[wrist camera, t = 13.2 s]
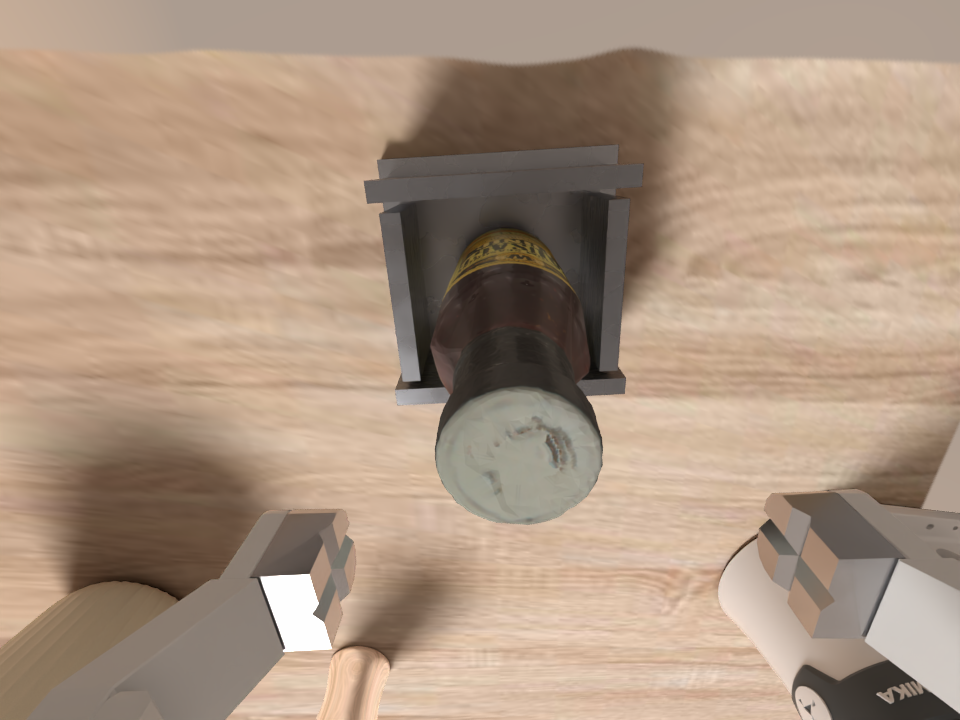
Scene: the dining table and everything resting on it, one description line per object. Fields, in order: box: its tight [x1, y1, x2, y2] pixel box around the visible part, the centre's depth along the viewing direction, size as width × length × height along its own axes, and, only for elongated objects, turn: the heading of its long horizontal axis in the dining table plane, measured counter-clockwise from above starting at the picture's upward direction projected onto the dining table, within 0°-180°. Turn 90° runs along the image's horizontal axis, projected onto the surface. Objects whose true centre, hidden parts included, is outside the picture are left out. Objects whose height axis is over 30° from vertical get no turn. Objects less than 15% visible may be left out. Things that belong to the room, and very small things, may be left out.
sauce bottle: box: [430, 228, 603, 525], centre depth 19 cm, size 6×6×20 cm
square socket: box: [364, 145, 644, 405], centre depth 26 cm, size 14×14×7 cm
